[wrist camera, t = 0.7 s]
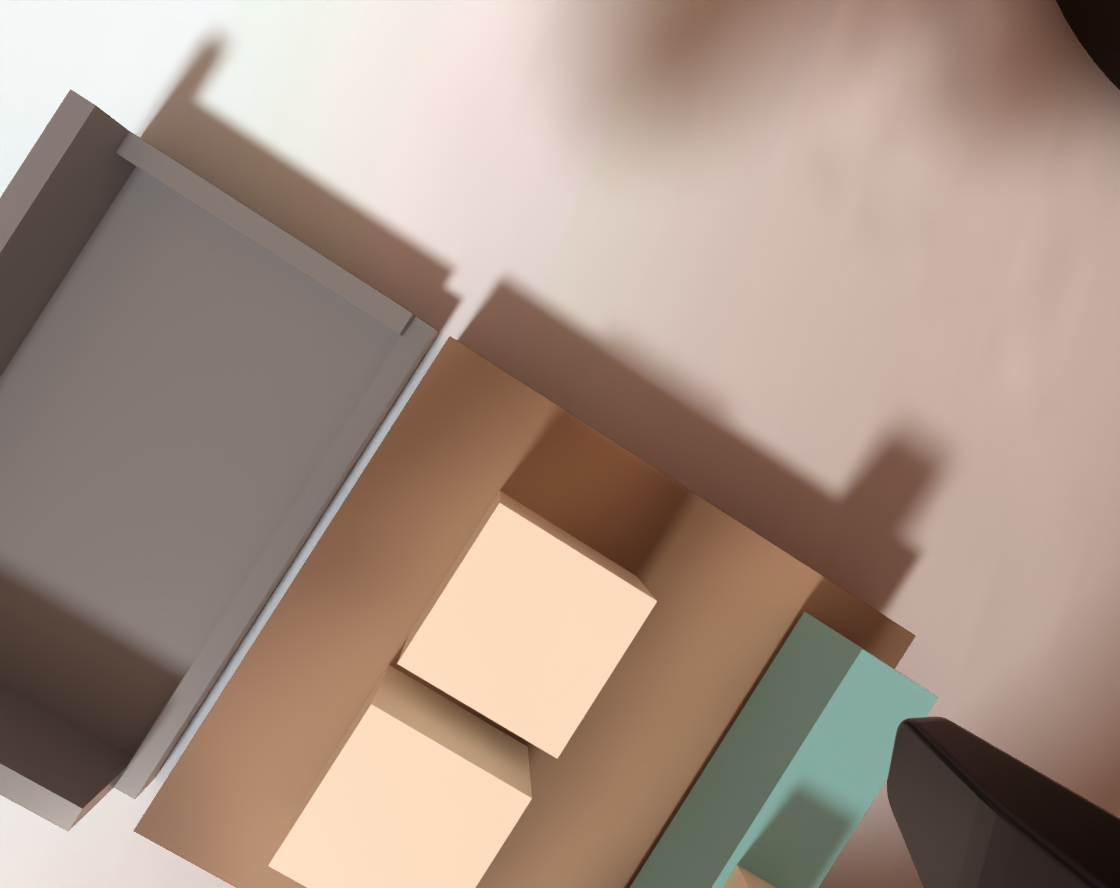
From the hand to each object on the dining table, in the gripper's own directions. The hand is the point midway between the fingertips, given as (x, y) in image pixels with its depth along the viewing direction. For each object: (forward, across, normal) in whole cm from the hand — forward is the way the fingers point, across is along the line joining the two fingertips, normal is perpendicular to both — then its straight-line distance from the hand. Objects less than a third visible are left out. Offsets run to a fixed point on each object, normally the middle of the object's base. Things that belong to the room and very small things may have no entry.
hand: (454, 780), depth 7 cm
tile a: (+10, -1, +4) cm, 11 cm away
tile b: (+9, +2, +8) cm, 12 cm away
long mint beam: (+8, -5, +10) cm, 14 cm away
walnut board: (+11, -1, +8) cm, 14 cm away
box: (+13, +9, +2) cm, 16 cm away
